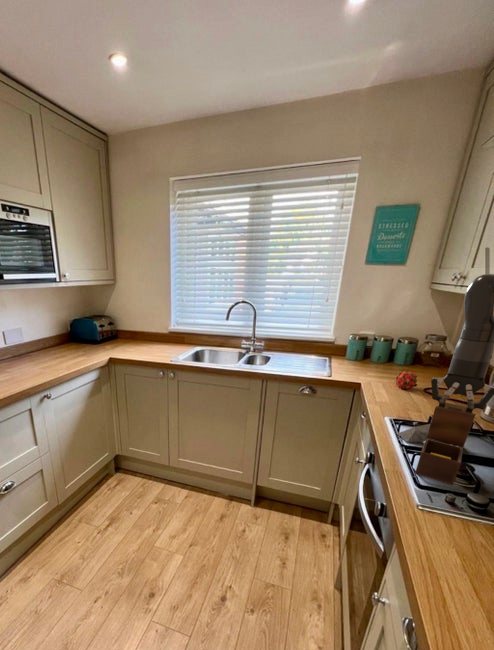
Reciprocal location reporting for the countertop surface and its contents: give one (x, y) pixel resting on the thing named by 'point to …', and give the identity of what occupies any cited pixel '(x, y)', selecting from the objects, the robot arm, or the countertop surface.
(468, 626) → the countertop surface
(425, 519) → the countertop surface
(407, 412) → the countertop surface
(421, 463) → the chest
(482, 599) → the countertop surface
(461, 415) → the lid
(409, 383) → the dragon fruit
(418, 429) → the paper boat
